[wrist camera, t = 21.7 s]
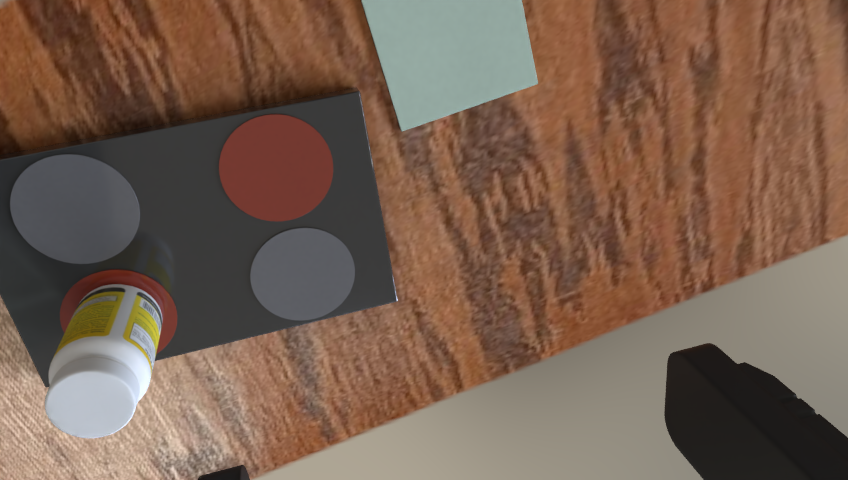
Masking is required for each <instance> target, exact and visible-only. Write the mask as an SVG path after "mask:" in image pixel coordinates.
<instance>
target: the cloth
mask: <svg viewBox="0 0 848 480" xmlns="http://www.w3.org/2000/svg"><path fill="white" fill-rule="evenodd" d="M361 2H362V5H363V8H364V11H365V15H366V18H367V21H368V24H369V28H370V31H371V34H372V38H373V41H374V44H375V47H376V51H377V54H378V57H379V60H380V64H381V67H382V70H383V73H384V77H385V80H386V83H387V87H388V90H389V93H390V96H391V100H392V103H393V106H394V109H395V113H396V116H397V119H398V122H399V126H400V129H401V131H405V130H408V129H410V128H413V127H416V126H419V125H422V124H425V123H428V122H430V121H433V120H436V119H439V118H442V117H445V116H448V115H450V114H453V113H456V112H459V111H462V110H465V109H467V108H470V107H473V106H476V105H479V104H482V103H485V102H487V101H490V100H493V99H496V98H499V97H502V96H505V95H507V94H510V93H513V92H516V91H519V90H522V89H525V88H527V87H530V86H533V85H536V84H538V81H537V76H536V71H535V65H534V60H533V55H532V50H531V45H530V40H529V35H528V30H527V25H526V20H525V15H524V9H523V4H522V0H361Z"/></svg>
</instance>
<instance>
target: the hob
mask: <svg viewBox="0 0 848 480" xmlns="http://www.w3.org/2000/svg"><path fill="white" fill-rule="evenodd" d="M111 284H122V285H129V286H133V287H136V288H139V289H141V290H143V291H145V292H146V293H148V294H149V295H150V296H151V297H152V298H153V299H154V300H155V301H156V302H157V304H158V306H159V308H160V310H161V313H162V328H161V332H160V338H159V342H158V347H157V352H156V356H155V361H157V360H161V359H165V358H169V357H173V356H177V355H181V354H185V353H189V352H193V351H197V350H201V349H205V348H210V347H214V346H218V345H222V344H226V343H230V342H234V341H238V340H242V339H246V338H250V337H254V336H258V335H263V334H267V333H271V332H275V331H279V330H283V329H287V328H291V327H295V326H299V325H303V324H307V323H311V322H315V321H320V320H324V319H328V318H332V317H336V316H340V315H344V314H348V313H352V312H356V311H360V310H364V309H368V308H373V307H377V306H381V305H385V304H389V303H393V302H397V295H396V289H395V284H394V278H393V273H392V267H391V261H390V256H389V250H388V245H387V239H386V234H385V228H384V223H383V217H382V211H381V206H380V200H379V195H378V189H377V184H376V178H375V173H374V167H373V161H372V156H371V150H370V145H369V139H368V134H367V128H366V122H365V117H364V111H363V106H362V100H361V95H360V91H359V90H358V89H357V88H351V89H346V90H340V91H335V92H330V93H324V94H319V95H314V96H309V97H303V98H298V99H293V100H288V101H282V102H277V103H272V104H266V105H261V106H256V107H251V108H245V109H240V110H235V111H230V112H224V113H219V114H214V115H209V116H203V117H198V118H193V119H187V120H182V121H177V122H172V123H166V124H161V125H156V126H151V127H145V128H140V129H135V130H129V131H124V132H119V133H114V134H108V135H103V136H98V137H93V138H87V139H82V140H77V141H72V142H66V143H61V144H56V145H50V146H45V147H40V148H35V149H29V150H24V151H19V152H14V153H8V154H3V155H0V295H1V297H2V299H3V301H4V303H5V305H6V307H7V309H8V311H9V313H10V315H11V317H12V319H13V321H14V324H15V326H16V328H17V330H18V332H19V334H20V336H21V338H22V340H23V342H24V344H25V346H26V348H27V350H28V352H29V354H30V356H31V358H32V360H33V362H34V364H35V366H36V369H37V371H38V373H39V375H40V377H41V379H42V381H43V383H44V385H45V387H49V386H50V384H49V368H50V365H51V362H52V359H53V357H54V355H55V353H56V351H57V349H58V346H59V344H60V342H61V340H62V338H63V336H64V334H65V332H66V329H67V327H68V325H69V323H70V321H71V319H72V316H73V314H74V312H75V310H76V308H77V306H78V304H79V303H80V301H81V300H82V299H83V298H84V297H85V296H86V295H87V294H88V293H89V292H91V291H93V290H94V289H96V288H99V287H101V286H105V285H111Z"/></svg>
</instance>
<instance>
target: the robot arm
mask: <svg viewBox="0 0 848 480" xmlns="http://www.w3.org/2000/svg"><path fill="white" fill-rule="evenodd" d="M665 422H666V426H667V429H668V432H669V435H670V436H671V439H672V441H673V442H674V444H675V446H676V447H677V448H678V449H679V451H680V452H681V453H682V454H683V455H684V457H685V458H686V459H687V460H688V461H689V463H690V464H691V465H692V466H693V467H694V469H695V470H696V471H697V472H698V473H699V474H700V476H701V477H702V478H703V479H704V480H848V438H847V437H846V436H845V435H844V434H843V433H841V432H840V431H839V430H838V429H837V428H835V427H834V426H833V425H832V424H831V423H829V422H828V421H827V420H826V419H825V418H823V417H822V416H821V415H820V414H818V415H817V414H816V413H815V410H814V409H813V408H812V407H810V406H809V405H808V404H807V403H806V402H804V401H803V400H802V399H798V398H797V397H796V394H795V393H794V392H792V391H791V390H790V389H789V388H788V387H786V386H785V385H784V384H783V383H782V382H780V381H779V380H778V379H777V378H775V376H773V375H771V374H768V373H766V372H764V371H762V370H760V369H758V368H756V367H754V366H752V365H749V364H747V363H745V362H744V363H740V364H736V363H735V362H734V361H733V360H732V359H731V358H730V357H728V356H727V355H726V354H725V353H724V352H723V351H721V350H720V349H719V348H718V347H716V346H715V345H713V344H710V343H707V344H703V345H699V346H696V347H692V348H688V349H684V350H680V351H677V352H673V353H671V354H670V356H669V358H668V363H667V381H666V398H665ZM198 480H250V479H249V476H248V473H247V470H246V468H245V466H244V465H240V466H236V467H232V468H229V469H225V470H221V471H217V472H214V473H210V474H206V475H202V476H200V477H199V478H198Z"/></svg>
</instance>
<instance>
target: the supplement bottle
mask: <svg viewBox="0 0 848 480" xmlns="http://www.w3.org/2000/svg"><path fill="white" fill-rule="evenodd" d="M161 328H162V313H161V310H160V308H159V306H158V304H157V302H156V301H155V300H154V299H153V298H152V297H151V296H150V295H149V294H148V293H146V292H145V291H143V290H141V289H139V288H136V287H133V286H129V285H122V284H111V285H105V286H101V287H99V288H96V289H94V290H93V291H91V292H89V293H88V294H87V295H86V296H85V297H84V298H83V299H82V300H81V301H80V303H79V304H78V306H77V308H76V310H75V312H74V314H73V316H72V319H71V321H70V323H69V325H68V327H67V329H66V332H65V334H64V336H63V338H62V340H61V342H60V344H59V346H58V349H57V351H56V353H55V355H54V357H53V359H52V362H51V365H50V368H49V384H50V386H49V389H48V392H47V394H46V398H45V410H46V413H47V415H48V418H49V419H50V421H51V422H52V423H53V424H54V425H55V426H56V427H57V428H58V429H60V430H61V431H63V432H65V433H67V434H69V435H72V436H76V437H81V438H99V437H104V436H107V435H110V434H113V433H115V432H117V431H119V430H120V429H122V428H123V427H124V426H125V425H126V424H127V423H128V422H129V421H130V419H131V418H132V416H133V414H134V411H135V408H136V405H137V402H138V401H139V400H140V399H141V398H142V396H143V395H144V394H145V392H146V390H147V388H148V386H149V383H150V380H151V375H152V370H153V366H154V361H155V356H156V352H157V347H158V342H159V338H160V332H161Z"/></svg>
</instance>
